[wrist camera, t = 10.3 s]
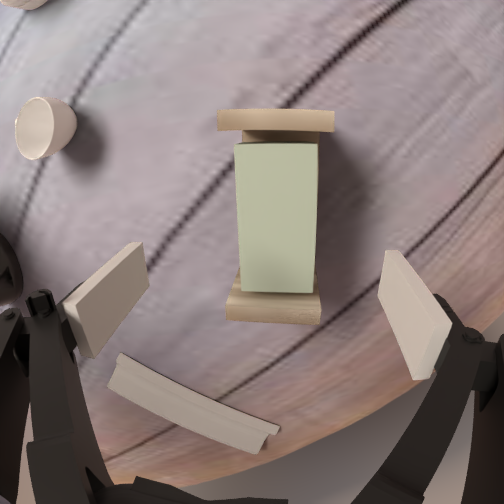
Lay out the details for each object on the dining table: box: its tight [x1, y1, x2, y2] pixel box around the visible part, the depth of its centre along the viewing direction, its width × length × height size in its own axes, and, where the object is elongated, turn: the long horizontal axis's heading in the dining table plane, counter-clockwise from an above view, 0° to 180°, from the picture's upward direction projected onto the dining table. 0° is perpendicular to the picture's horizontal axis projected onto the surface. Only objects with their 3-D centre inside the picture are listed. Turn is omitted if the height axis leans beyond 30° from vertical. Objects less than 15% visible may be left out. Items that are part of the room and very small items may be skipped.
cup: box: [15, 97, 77, 160], centre depth 29 cm, size 8×10×7 cm
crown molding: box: [107, 352, 280, 455], centre depth 49 cm, size 31×12×4 cm, turn 62°
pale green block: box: [234, 141, 318, 293], centre depth 25 cm, size 12×6×5 cm, turn 2°
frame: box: [217, 109, 334, 325], centre depth 28 cm, size 17×8×12 cm, turn 1°
